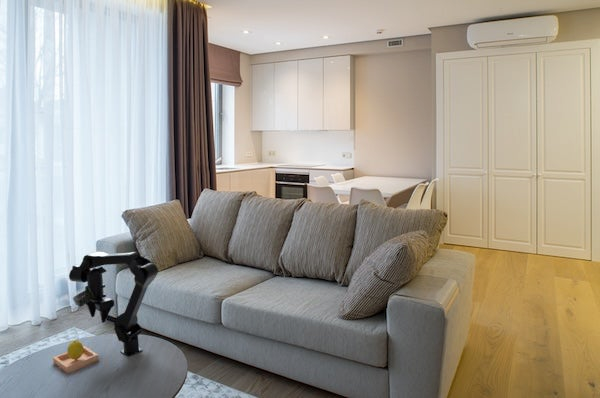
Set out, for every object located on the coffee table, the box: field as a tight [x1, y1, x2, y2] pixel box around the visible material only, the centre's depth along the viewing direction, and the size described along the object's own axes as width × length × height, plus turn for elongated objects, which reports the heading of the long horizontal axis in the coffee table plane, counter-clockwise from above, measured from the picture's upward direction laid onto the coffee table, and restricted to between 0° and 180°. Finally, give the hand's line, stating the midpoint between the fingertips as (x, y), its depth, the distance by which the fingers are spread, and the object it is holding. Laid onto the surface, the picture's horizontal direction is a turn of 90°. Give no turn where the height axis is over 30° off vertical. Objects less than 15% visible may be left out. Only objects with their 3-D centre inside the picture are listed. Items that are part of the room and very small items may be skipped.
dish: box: [52, 345, 100, 374], centre depth 170 cm, size 12×12×2 cm
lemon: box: [66, 340, 84, 360], centre depth 170 cm, size 6×6×8 cm
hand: (98, 319), depth 181 cm, fingers open, 9 cm apart
